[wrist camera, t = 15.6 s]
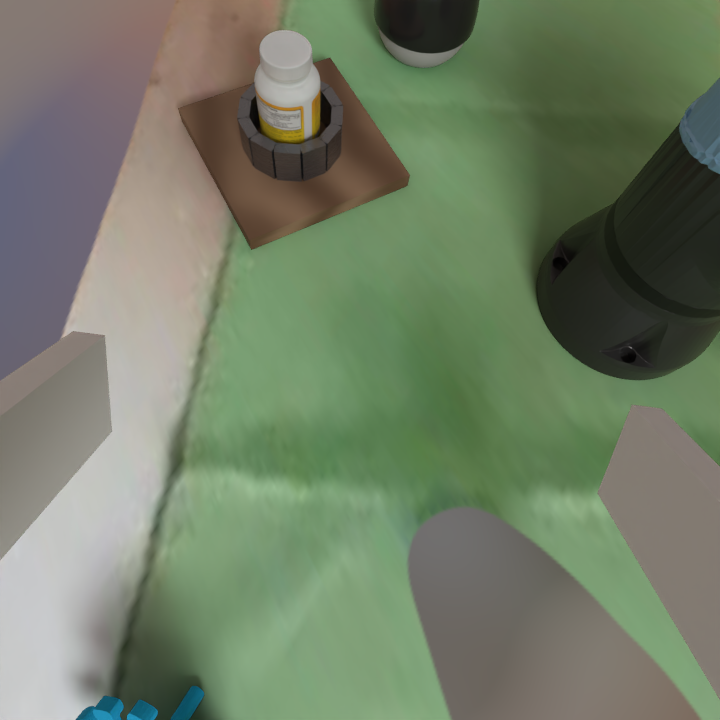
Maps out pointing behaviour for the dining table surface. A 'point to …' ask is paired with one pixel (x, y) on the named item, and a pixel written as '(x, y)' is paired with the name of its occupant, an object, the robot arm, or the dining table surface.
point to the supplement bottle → (287, 89)
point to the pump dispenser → (425, 28)
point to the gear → (141, 708)
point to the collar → (292, 158)
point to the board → (291, 198)
